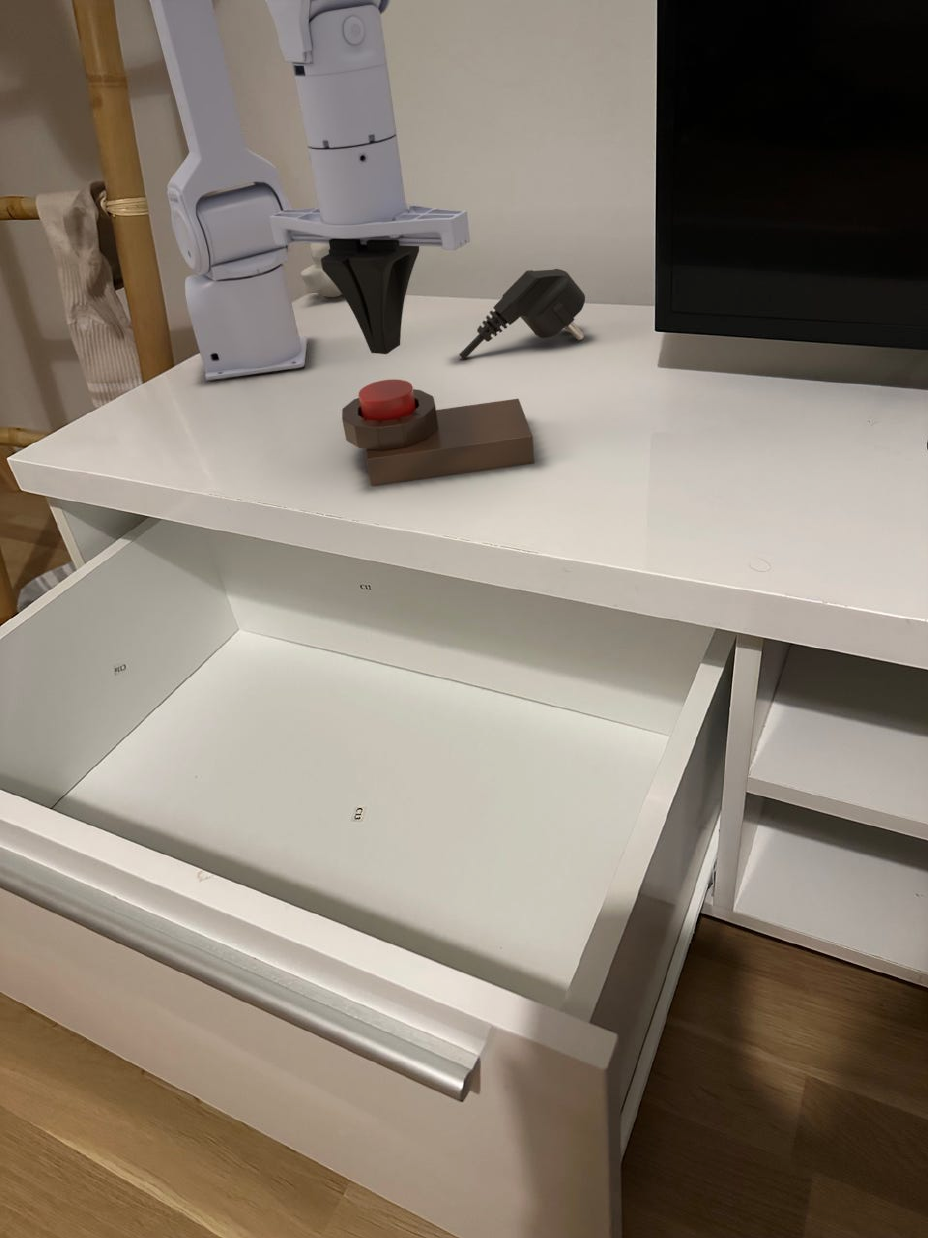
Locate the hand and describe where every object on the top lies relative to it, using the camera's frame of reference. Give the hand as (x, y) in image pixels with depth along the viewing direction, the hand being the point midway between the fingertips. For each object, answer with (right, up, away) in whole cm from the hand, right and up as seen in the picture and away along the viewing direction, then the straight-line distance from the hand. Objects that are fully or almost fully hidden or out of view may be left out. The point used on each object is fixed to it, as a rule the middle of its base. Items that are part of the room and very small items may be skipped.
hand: (385, 348), depth 66 cm
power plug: (+11, +6, +20) cm, 24 cm away
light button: (0, -4, +2) cm, 5 cm away
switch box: (+5, -7, +3) cm, 9 cm away
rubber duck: (-10, +17, +39) cm, 44 cm away
